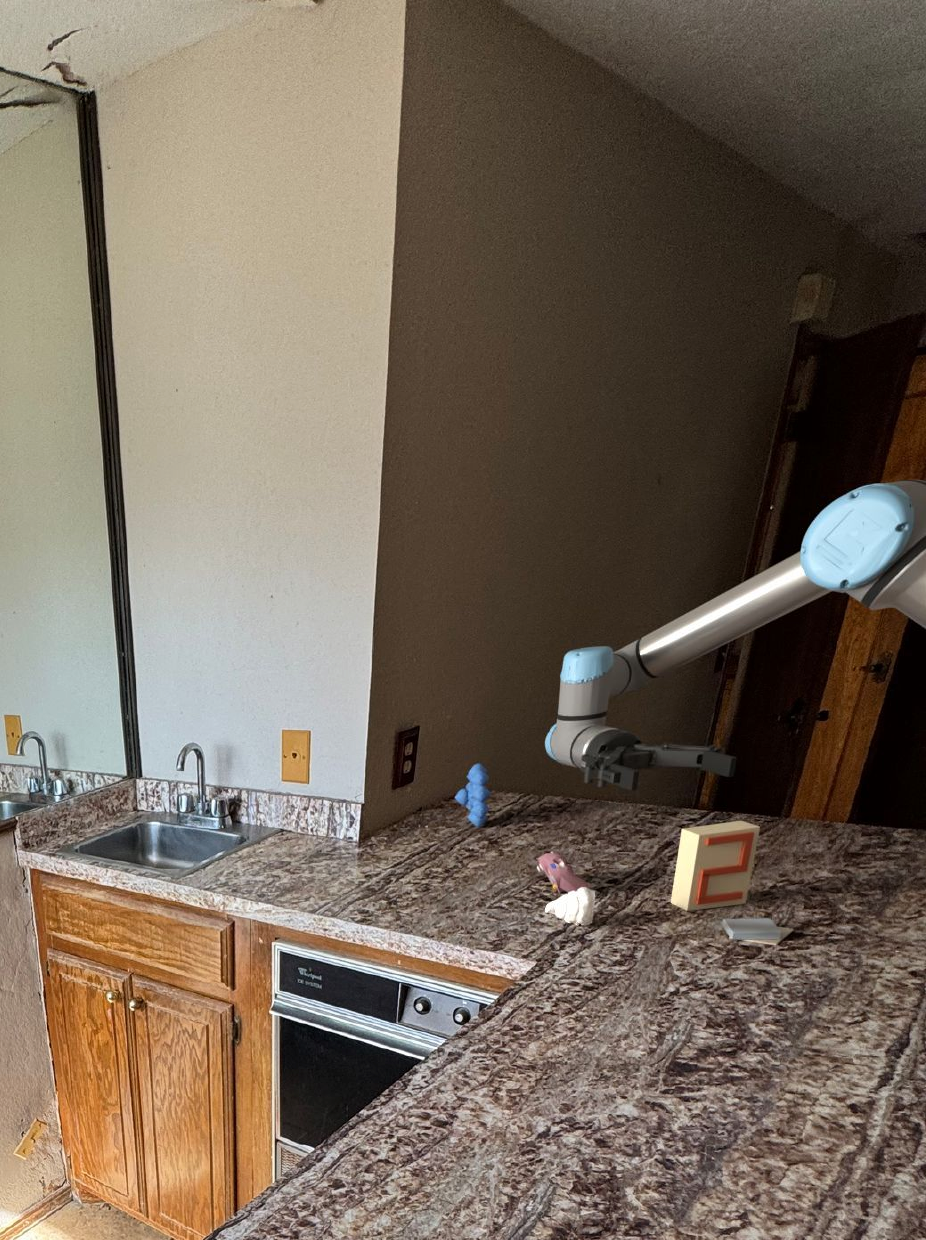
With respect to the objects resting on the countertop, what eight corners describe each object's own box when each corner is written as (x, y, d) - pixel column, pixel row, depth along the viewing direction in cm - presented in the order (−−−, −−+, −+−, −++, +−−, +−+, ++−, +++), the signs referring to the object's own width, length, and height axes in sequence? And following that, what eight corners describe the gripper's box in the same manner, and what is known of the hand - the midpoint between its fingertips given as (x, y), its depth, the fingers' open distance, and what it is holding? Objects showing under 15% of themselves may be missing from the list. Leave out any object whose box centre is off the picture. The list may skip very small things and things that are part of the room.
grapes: (449, 819, 187) (451, 761, 182) (484, 816, 185) (487, 758, 180) (457, 833, 177) (459, 772, 172) (493, 830, 175) (497, 768, 170)
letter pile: (784, 930, 115) (788, 908, 114) (840, 956, 107) (846, 932, 105) (689, 942, 116) (693, 920, 115) (737, 968, 108) (742, 945, 106)
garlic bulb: (544, 917, 131) (547, 882, 129) (590, 918, 128) (594, 882, 126) (543, 930, 127) (546, 894, 125) (591, 931, 124) (595, 894, 122)
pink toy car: (546, 889, 146) (528, 854, 144) (574, 875, 144) (557, 839, 142) (563, 908, 137) (544, 871, 135) (593, 893, 135) (575, 856, 133)
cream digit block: (727, 895, 128) (741, 820, 124) (748, 904, 124) (763, 827, 120) (670, 903, 129) (681, 828, 124) (689, 912, 125) (701, 836, 120)
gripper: (681, 764, 148) (768, 787, 129) (529, 785, 150) (592, 812, 131) (688, 717, 145) (779, 734, 126) (532, 740, 147) (598, 760, 128)
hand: (684, 774), depth 128 cm, fingers open, 13 cm apart
